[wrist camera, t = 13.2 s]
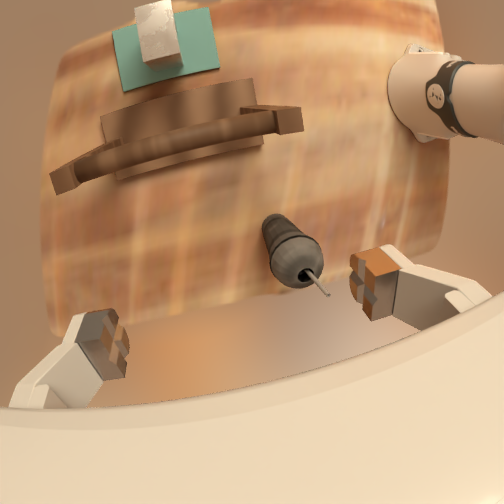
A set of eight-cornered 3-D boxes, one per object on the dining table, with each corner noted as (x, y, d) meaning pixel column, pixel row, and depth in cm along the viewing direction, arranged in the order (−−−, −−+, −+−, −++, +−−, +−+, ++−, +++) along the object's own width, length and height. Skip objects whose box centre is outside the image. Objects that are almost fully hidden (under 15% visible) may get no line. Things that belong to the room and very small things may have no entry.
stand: (250, 78, 39) (298, 59, 20) (261, 142, 44) (315, 176, 25) (102, 116, 37) (32, 131, 18) (119, 178, 42) (67, 238, 23)
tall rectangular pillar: (175, 22, 33) (170, -2, 23) (183, 65, 36) (180, 52, 26) (147, 29, 32) (134, 8, 23) (155, 72, 36) (143, 62, 26)
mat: (208, 8, 33) (208, 6, 32) (219, 67, 38) (220, 67, 37) (113, 32, 32) (112, 31, 31) (124, 91, 37) (123, 91, 36)
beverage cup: (253, 207, 48) (288, 272, 31) (297, 204, 50) (353, 264, 32) (253, 248, 52) (285, 326, 34) (295, 244, 53) (343, 317, 35)
